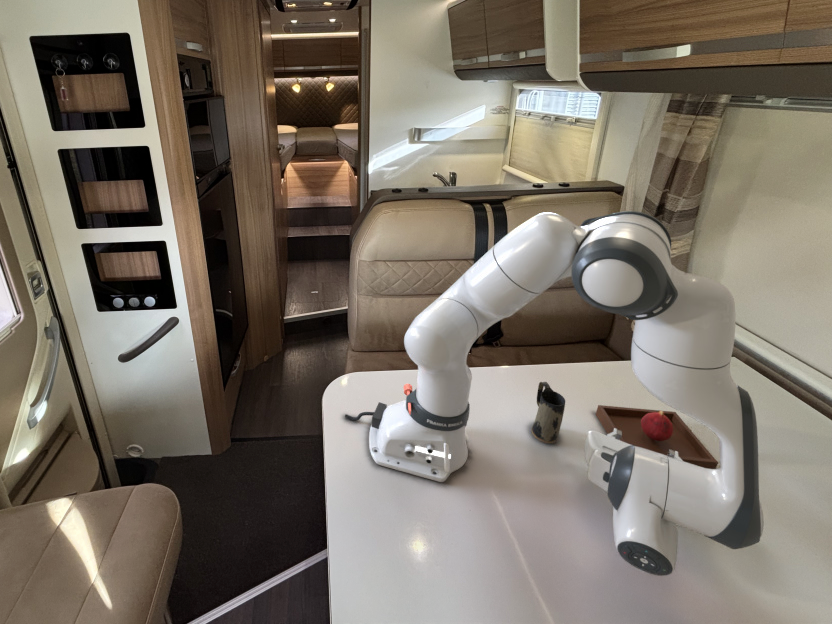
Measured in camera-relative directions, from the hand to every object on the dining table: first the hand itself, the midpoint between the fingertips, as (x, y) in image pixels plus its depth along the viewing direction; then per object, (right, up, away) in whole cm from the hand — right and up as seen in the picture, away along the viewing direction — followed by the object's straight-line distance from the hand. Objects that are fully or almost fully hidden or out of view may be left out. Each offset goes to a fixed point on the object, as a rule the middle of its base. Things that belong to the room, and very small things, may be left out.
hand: (643, 441), depth 89 cm
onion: (+9, -4, +10) cm, 14 cm away
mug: (-15, -4, +13) cm, 20 cm away
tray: (+9, -5, +10) cm, 14 cm away
